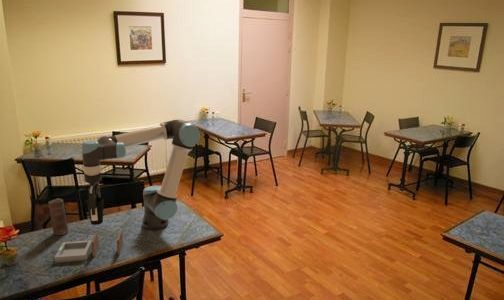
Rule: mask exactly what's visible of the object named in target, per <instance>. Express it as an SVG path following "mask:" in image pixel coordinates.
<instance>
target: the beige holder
mask: <svg viewBox="0 0 504 300" xmlns="http://www.w3.org/2000/svg"><path fill="white" fill-rule="evenodd" d="M116 238H117V239H116V245H117V246H116V248H117V255H121V253H122V249H123V246H124V241H123V231H122V230H119V232H118V236H117V237H116ZM91 245H92V247H91V251H92V253H91V254H92V257H96V255H97V252H98V249H99V247H100V241H99V234H98V232H95V233H94V235H93V237H92V242H91Z"/></svg>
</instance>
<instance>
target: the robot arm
mask: <svg viewBox="0 0 504 300" xmlns="http://www.w3.org/2000/svg"><path fill="white" fill-rule="evenodd" d="M200 138H201V132H200V130H199V128H198V127H197V126H196V125H195V124H193V123H191V122H189V121H185V120H183V119H173V120H169V121H164V122H160V123H159V125H155V126H149V127H146V128H141V129H137V130H134V131H128V132H124V133H120V134H115V135H110V136H105V135H101V136H99V137H98V138H97V140H86V141H84V142H82V143H81V155H82V164H83V166H82V169H83V172H84V174H83V175H84V182H85V183H88V184H89V185H88V189H87V192H88V199H89V209H91V220H92V221H97V220H98V217H97V208H96V197H101V190H100V182H101V181H102V179H103V178H102V167H101V166H102V165H101V161H105V160H106V161H107V160H114V159H120V158H124V157H125V156H126V153H127V151H126V149H127V148H130V147H135V146H137V145H142V144H146V143H150V142H154V141H158V140H164V141H165V140H171V146H172V151H171V153H170V157H169V160H168V164H167V166H166V169H165V173H164V177H163V179H162V182H161V183H162V184H161V185H151V186H147V187H145V188H144V189H143V193H142V195H143V208H144V214H143V217H142V219H141V226H142V228H144V229H146V230H150V231H151V230H152V231H153V230H154V231H155V230H156V231H157V230H161V229H164V228H165V227H167V226H168V225H169V220H170V219H171V218H173V217H174V216H175V215H176V214H177V212H178V205H177V200H178V195H177V191H178V187H179V184H180V182H181V177H182V174H183V172H184V167H185V165H186V161H187V158H188V155H189V153H190V152H191V151H193V150H194V149H193V148H194V146H195V145H197V144H198V143H199V142H200ZM101 198H102V197H101Z"/></svg>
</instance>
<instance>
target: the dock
mask: <svg viewBox="0 0 504 300" xmlns="http://www.w3.org/2000/svg"><path fill="white" fill-rule="evenodd" d="M91 242H92V240H77V241H63V242H62V243H61V245H60V247H59V249H58V250H57V252H56V254H55V256H54V263H55V264H57V263H68V262H69V263H70V262H71V263H72V262H81V261H82V262H83V261H87V259H88V256H89V254H90V252H91V251H92V245H91Z"/></svg>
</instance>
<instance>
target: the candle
mask: <svg viewBox="0 0 504 300" xmlns="http://www.w3.org/2000/svg"><path fill="white" fill-rule="evenodd" d="M64 204H65V203H64V199H63V198H55V199H52V200H50V201H48V208H49V215H50V221H51V227H52V232H53V234H54V235H61V236H62V235H67V234H68V232H69V228H68V221H67V217H66V210H65V205H64Z"/></svg>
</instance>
